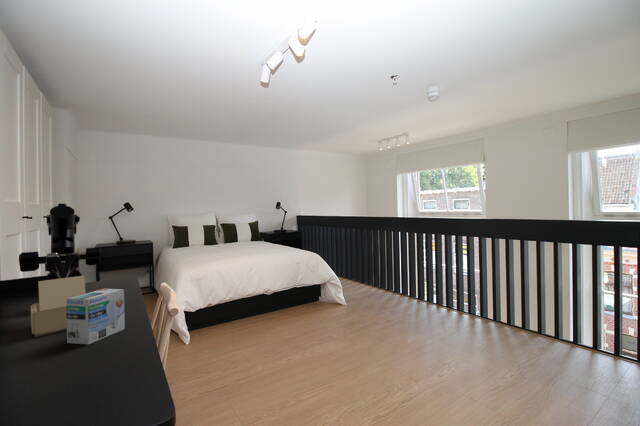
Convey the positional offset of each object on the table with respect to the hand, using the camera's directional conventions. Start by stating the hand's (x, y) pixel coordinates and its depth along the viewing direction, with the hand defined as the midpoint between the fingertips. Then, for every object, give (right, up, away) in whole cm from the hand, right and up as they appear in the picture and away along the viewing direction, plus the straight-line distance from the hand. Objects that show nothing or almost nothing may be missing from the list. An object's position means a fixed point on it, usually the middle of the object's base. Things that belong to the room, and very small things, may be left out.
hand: (63, 281), depth 87 cm
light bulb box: (+17, -12, -10) cm, 23 cm away
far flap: (+3, -2, -4) cm, 6 cm away
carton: (0, -12, -1) cm, 12 cm away
